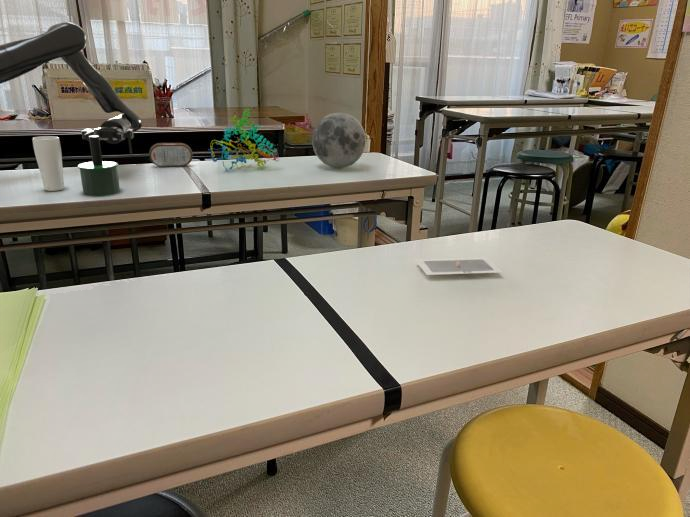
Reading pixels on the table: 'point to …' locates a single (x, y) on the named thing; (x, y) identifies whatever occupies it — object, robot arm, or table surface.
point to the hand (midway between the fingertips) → (102, 137)
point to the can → (100, 182)
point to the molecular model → (245, 143)
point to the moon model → (339, 140)
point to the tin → (170, 154)
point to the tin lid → (96, 157)
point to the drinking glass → (49, 161)
